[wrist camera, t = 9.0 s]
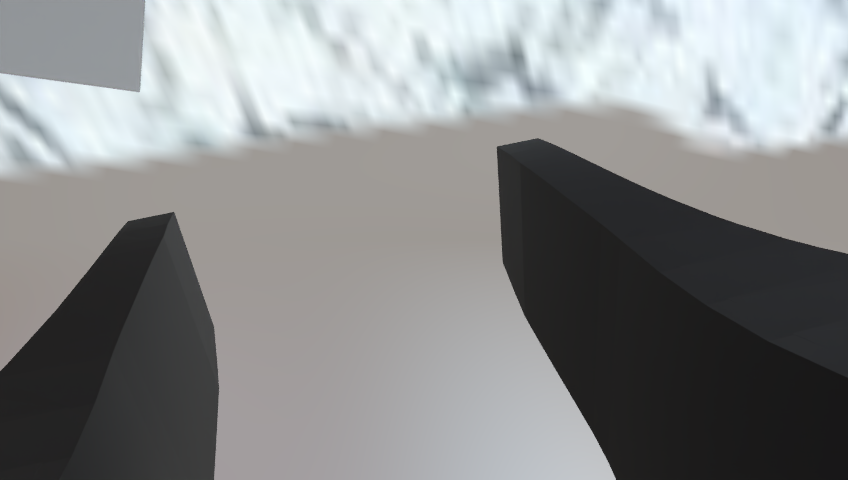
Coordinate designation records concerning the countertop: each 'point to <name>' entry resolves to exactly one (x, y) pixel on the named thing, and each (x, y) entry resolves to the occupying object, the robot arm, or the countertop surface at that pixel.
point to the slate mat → (74, 41)
